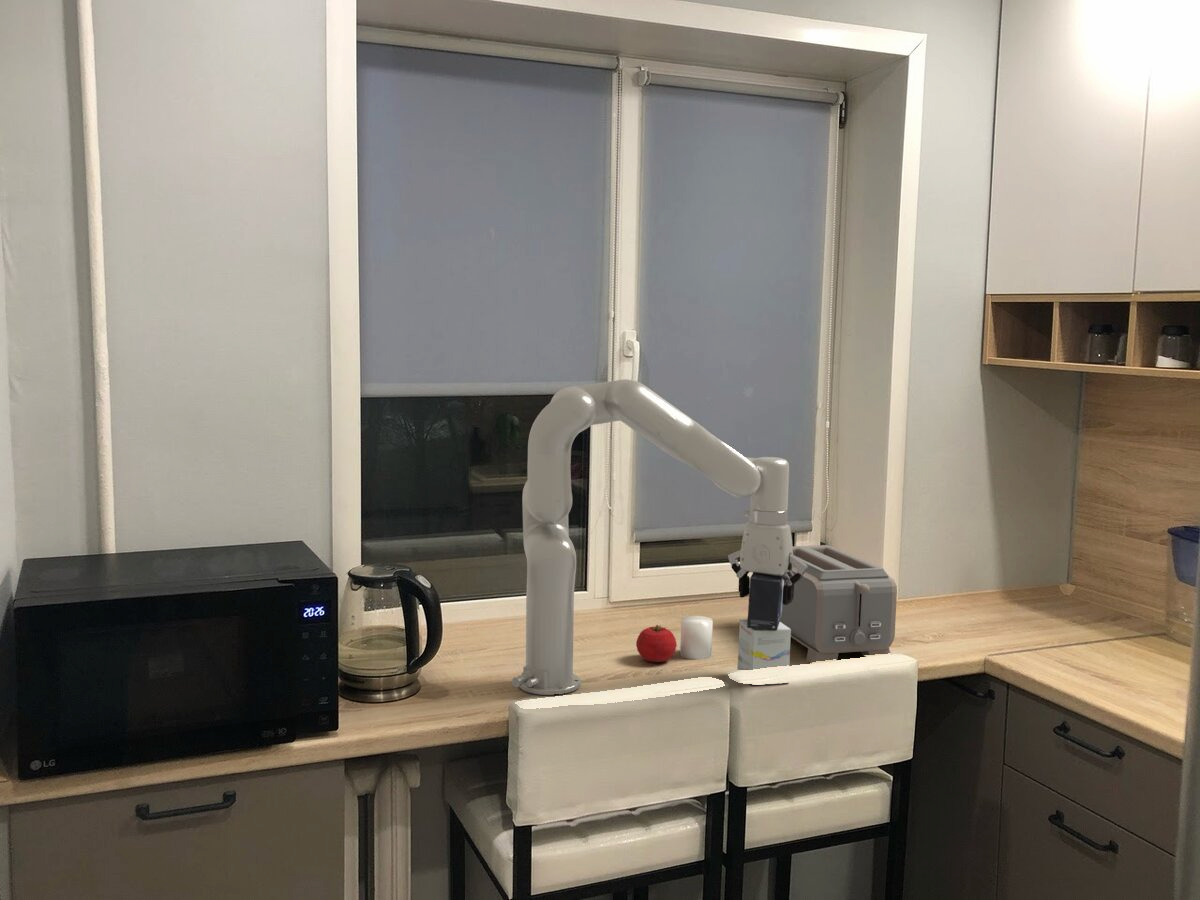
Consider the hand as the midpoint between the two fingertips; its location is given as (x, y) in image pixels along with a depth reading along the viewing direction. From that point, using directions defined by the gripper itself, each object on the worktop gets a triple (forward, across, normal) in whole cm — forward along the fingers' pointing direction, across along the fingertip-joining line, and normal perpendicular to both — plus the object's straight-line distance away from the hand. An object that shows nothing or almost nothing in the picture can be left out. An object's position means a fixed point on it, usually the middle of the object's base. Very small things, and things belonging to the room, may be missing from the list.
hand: (765, 599), depth 209 cm
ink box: (+17, 0, 0) cm, 17 cm away
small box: (+5, 0, 0) cm, 5 cm away
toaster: (+17, +2, +31) cm, 36 cm away
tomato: (+17, -24, -3) cm, 30 cm away
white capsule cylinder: (+17, -19, +6) cm, 26 cm away
